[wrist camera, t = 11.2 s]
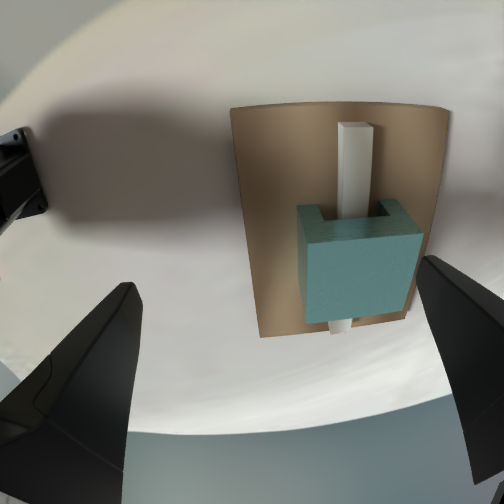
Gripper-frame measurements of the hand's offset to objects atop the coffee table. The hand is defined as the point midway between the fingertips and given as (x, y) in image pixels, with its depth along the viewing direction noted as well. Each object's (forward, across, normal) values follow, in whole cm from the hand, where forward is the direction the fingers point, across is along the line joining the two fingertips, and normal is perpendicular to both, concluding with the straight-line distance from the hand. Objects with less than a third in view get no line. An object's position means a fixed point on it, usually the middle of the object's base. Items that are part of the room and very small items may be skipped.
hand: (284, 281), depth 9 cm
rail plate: (+10, -5, +6) cm, 13 cm away
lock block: (+10, -5, +6) cm, 12 cm away
